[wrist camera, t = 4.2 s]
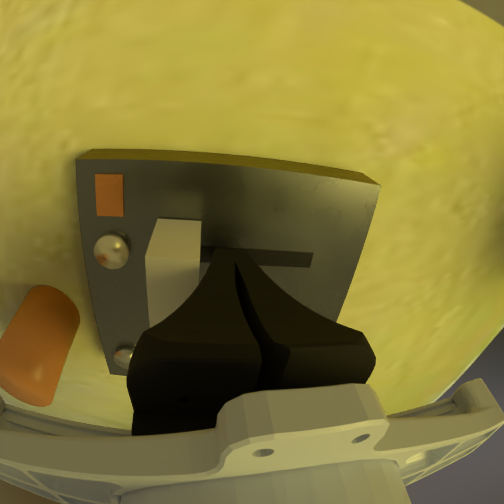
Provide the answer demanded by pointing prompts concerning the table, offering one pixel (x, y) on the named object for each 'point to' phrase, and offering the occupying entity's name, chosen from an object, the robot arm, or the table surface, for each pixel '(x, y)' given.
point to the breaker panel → (216, 227)
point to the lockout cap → (37, 345)
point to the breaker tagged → (171, 266)
